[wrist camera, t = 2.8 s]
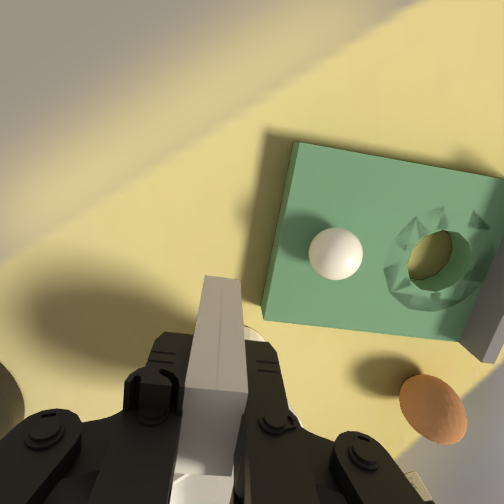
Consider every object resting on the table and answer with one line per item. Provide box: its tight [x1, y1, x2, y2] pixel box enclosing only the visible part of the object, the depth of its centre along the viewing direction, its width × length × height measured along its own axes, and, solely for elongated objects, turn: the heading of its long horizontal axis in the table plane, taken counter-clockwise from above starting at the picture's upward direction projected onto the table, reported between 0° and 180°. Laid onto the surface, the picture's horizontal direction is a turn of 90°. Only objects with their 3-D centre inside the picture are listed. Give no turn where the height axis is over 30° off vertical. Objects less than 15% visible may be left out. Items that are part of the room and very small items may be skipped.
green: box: [261, 142, 504, 364], centre depth 28 cm, size 20×15×6 cm
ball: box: [309, 228, 363, 280], centre depth 25 cm, size 4×4×4 cm
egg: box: [399, 375, 467, 445], centre depth 32 cm, size 5×5×7 cm
